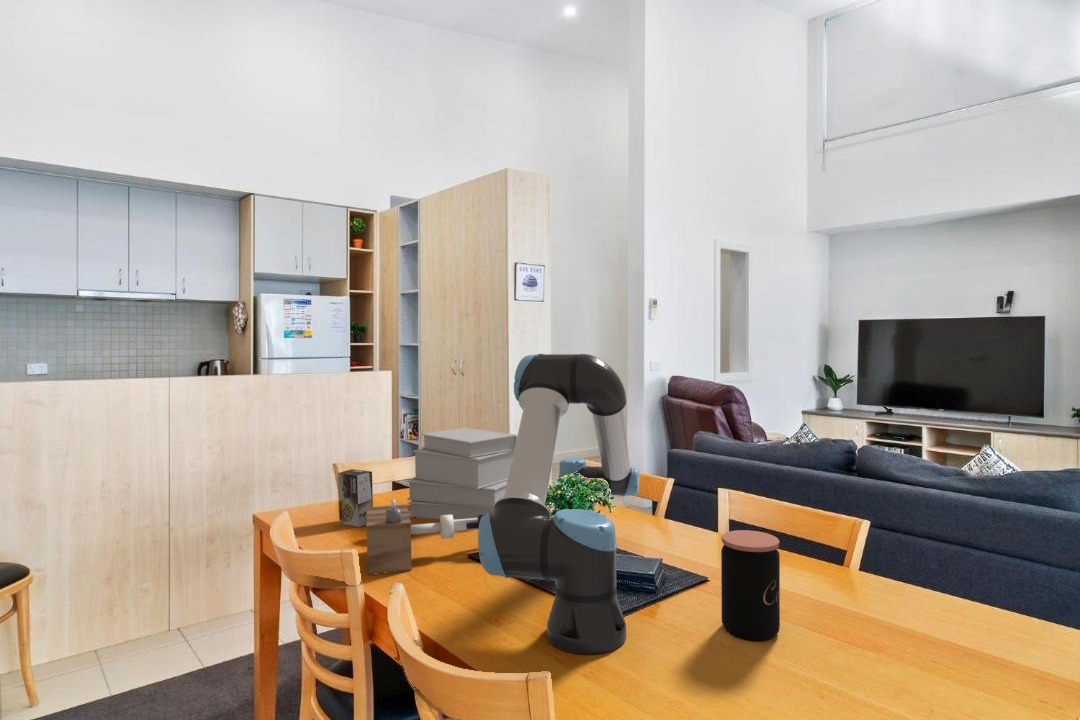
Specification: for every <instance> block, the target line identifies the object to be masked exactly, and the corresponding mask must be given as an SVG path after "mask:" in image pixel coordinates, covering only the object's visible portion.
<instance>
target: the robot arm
mask: <svg viewBox="0 0 1080 720" xmlns="http://www.w3.org/2000/svg"><path fill="white" fill-rule="evenodd" d="M513 393H514V398H515V400H516V401H517V402H518V406H520V408H521V410H522V414H521V418H520V421H519V422H520V423H519V428H518V431H517V440H516V445H515V449H514V454H513V459H512V463H511V468H510V472H509V477H508V482H507V486H506V491H505V495H504V497H503V498H501V499H499V500H498V501H497V502H496V503H495V506H494V511H493V513H488V514H482V515H478V517H477V518H468V519H456V520H454V532H463V531H473V530H477V531H478V533H477V546H478V547H477V548H478V549H477V550H478V556H479V559H480V564H481V567H482V568H483V570H484V571H485V572H486V573H487V574H488V575H491V576H497V577H504V578H505V579H508V578H516V579H531V580H542V581H543V580H544V581H554V584H555V596H554V600H553V603H552V606H551V609H550V612H549V616H548V619H547V621H546V637H547V640H548V642H549V643H550V644H551V645H553V646H554V647H556V648H557V649H560V650H563V651H564V652H569V653H572V654H577V655H579V654H580V655H595V654H596V655H597V654H603V653H608V652H610V651H615V650H616V649H618V648H620V647H621V646H622V645H623V644H624V643H625V641H626V639H627V624H626V621H625V618H624V614H623V611H622V608H621V605H620V602H619V599H618V597H617V593H618V592H617V549H618V543H617V536H616V527H615V524H614V523H613V521H612V520H611V519H610V518H609V517H608V516H606V515H604V514H602V513H599V512H596V508H595V506H594V507H593V511H594V512H593V511H589V510H584V509H562V510H559V511H557V512H556V513H555V516H554V518H550V517H551V513H550V511H549V510H550V509H551V508H552V506H549V507H546V506H545V503H547V502H546V501H547V496H548V495H547V494H548V489H549V484H550V477H551V471H552V468H553V467H552V465H553V462H554V461H553V460H554V453H555V448H556V442H557V435H558V431H559V427H560V418H561V417H563V416H565V415H566V414H567V412H568V410H569V405H570V404H576V405H577V404H583V405H584V404H585V405H586V407H587V409H588V411H589V412H590V413H591V414H592V418H593V424H594V429H595V430H594V432H595V436H596V442H597V447H598V453H599V454H598V455H599V459H600V464H601V465H600V466H590V465H587V461H586V460H585V458H581V457H566V458H563V459H561V460H560V462H559V466H558V467H559V468H558V469H559V471H558V479H559V478H560V477H562V476H564V475H567V474H571V473H574V472H576V471H577V472H576V473H580V474H581V475H583V476H584V477H587V478H603V479H605V480H606V481H607V482H608V484H609V488H610V489H611V495H610V496H617V497H618V496H619V497H620V496H621V497H626V496H627V497H629V496H634V497H635V496H637V495H638V494H639V492H640V471H639V469H638V468H636V467H632V466H631V465H630V456H629V455H630V454H629V447H628V437H627V430H626V423H625V422H626V421H625V414H624V409H625V408H626V405H627V395H626V389H625V387H624V383H623V382H622V380H621V379H620V377H619V375H618V374H617V372H616V371H615V370H614V368H612V367H611V366H610V365H609V364H608V363H606V361H604V360H603V359H601V358H599V357H597V356H594V355H592V354H587V353H579V354H577V353H576V354H573V353H572V354H571V353H569V354H568V353H567V354H562V353H561V354H551V353H550V354H549V353H548V354H547V353H546V354H544V353H537V354H528V355H525V356H523V357H522V358H521V360H520V361H519V362H518V365H517V366H516V369H515V372H514V382H513ZM576 473H574V474H576ZM577 475H579V474H577Z"/></svg>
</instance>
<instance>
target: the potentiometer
mask: <svg viewBox="0 0 1080 720" xmlns="http://www.w3.org/2000/svg"><path fill="white" fill-rule="evenodd" d="M390 504H391V505H390V506H391V508H389V509H386V523H388V524H395V523H399V522H401V509H400V508H395V505H396V499H391V500H390Z"/></svg>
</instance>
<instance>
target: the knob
mask: <svg viewBox="0 0 1080 720" xmlns="http://www.w3.org/2000/svg"><path fill="white" fill-rule="evenodd" d="M433 533H440V538H441V539H442V540H446V539H453V538H455V537H454V536H455V531H454V520H453V515H441V516H440V519H439V522H430V523H420V524H417V523H416V524H412V525H411V535H412V536H413V535H421V534H433Z"/></svg>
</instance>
